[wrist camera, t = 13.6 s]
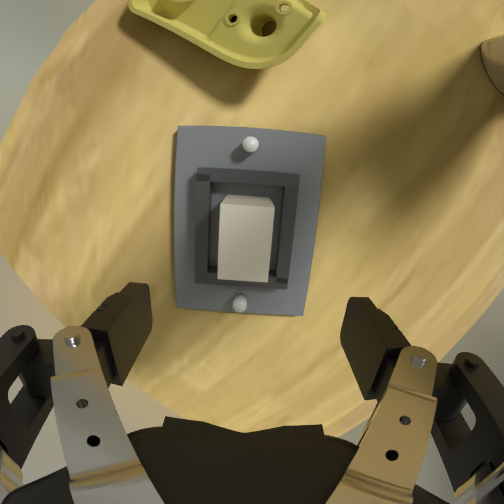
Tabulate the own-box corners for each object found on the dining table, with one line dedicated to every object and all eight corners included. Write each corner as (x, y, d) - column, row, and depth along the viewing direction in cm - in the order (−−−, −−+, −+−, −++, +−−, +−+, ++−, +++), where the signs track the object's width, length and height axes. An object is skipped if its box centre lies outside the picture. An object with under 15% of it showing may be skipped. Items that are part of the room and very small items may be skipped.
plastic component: (121, 7, 18) (167, -63, 12) (160, 12, 24) (202, -46, 17) (264, 90, 21) (337, 7, 14) (284, 87, 26) (341, 24, 20)
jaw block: (269, 197, 26) (274, 207, 21) (264, 257, 28) (267, 282, 22) (227, 194, 26) (220, 203, 20) (224, 254, 28) (217, 279, 22)
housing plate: (323, 136, 25) (330, 134, 23) (301, 311, 31) (305, 324, 29) (180, 127, 25) (172, 123, 22) (178, 303, 31) (172, 315, 28)
